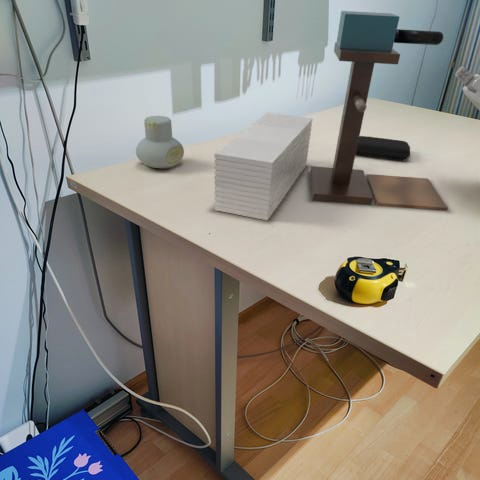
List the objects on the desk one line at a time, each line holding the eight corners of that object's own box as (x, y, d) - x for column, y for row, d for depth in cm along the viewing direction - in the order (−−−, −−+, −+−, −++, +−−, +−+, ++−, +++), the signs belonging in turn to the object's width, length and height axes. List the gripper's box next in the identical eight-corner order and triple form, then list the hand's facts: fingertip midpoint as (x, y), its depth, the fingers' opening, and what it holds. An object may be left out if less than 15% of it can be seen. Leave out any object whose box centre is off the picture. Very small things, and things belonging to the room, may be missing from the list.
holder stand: (361, 174, 99) (390, 43, 83) (372, 207, 85) (410, 57, 69) (309, 170, 100) (328, 39, 83) (312, 202, 86) (336, 53, 69)
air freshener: (161, 154, 104) (158, 111, 98) (189, 161, 101) (187, 117, 95) (131, 167, 97) (126, 121, 91) (160, 175, 94) (156, 127, 88)
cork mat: (426, 180, 98) (427, 178, 97) (446, 210, 85) (447, 207, 85) (365, 176, 98) (366, 174, 98) (376, 205, 86) (377, 202, 86)
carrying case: (408, 150, 114) (353, 143, 117) (411, 139, 113) (355, 132, 115) (408, 163, 107) (349, 155, 109) (412, 151, 105) (352, 143, 107)
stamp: (433, 49, 78) (443, 16, 75) (444, 54, 73) (455, 19, 70) (336, 43, 79) (341, 10, 76) (339, 48, 74) (345, 13, 70)
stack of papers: (267, 220, 79) (272, 162, 72) (214, 210, 81) (214, 153, 74) (306, 165, 102) (312, 118, 95) (264, 159, 105) (267, 112, 98)
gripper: (524, 151, 75) (470, 104, 71) (484, 120, 91) (438, 80, 87) (558, 119, 71) (503, 68, 68) (511, 93, 87) (464, 50, 83)
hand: (466, 75), depth 77 cm, fingers open, 8 cm apart
